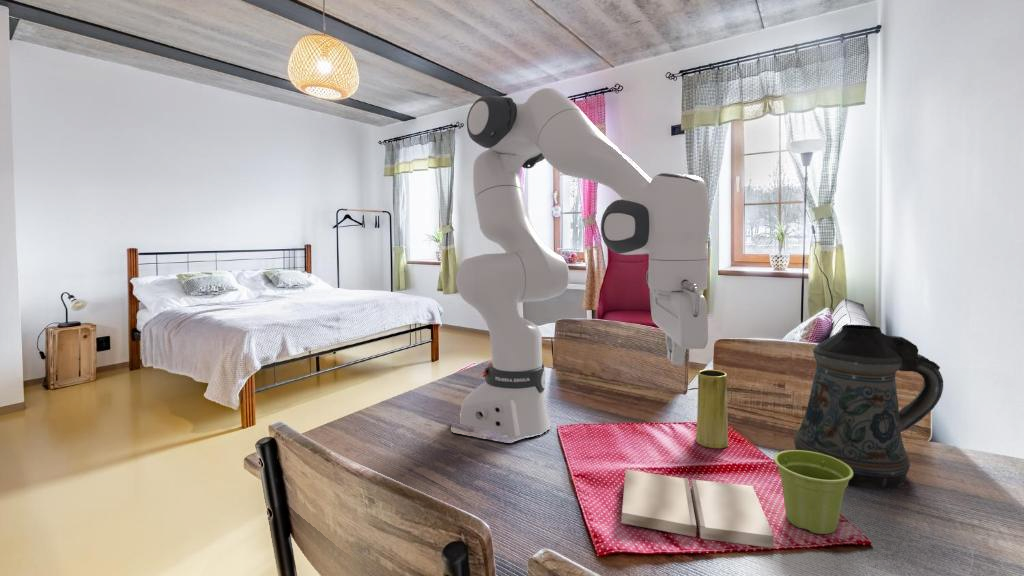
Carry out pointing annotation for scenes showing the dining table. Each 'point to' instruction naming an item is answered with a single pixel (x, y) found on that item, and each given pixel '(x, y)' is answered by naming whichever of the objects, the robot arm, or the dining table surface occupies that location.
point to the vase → (712, 409)
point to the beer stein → (866, 404)
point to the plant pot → (812, 488)
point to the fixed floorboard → (730, 514)
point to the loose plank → (658, 503)
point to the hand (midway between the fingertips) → (675, 362)
